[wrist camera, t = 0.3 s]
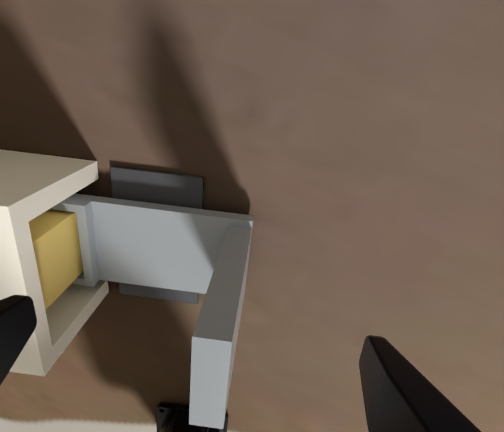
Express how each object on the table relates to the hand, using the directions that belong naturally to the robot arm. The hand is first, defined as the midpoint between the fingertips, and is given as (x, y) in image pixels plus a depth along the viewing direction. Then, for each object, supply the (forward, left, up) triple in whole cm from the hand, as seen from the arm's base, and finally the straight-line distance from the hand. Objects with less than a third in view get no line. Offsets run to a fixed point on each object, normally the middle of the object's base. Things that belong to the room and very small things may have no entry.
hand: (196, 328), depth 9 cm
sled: (-5, +8, -13) cm, 16 cm away
